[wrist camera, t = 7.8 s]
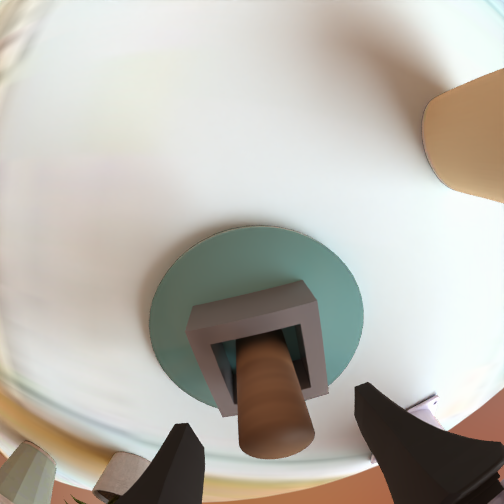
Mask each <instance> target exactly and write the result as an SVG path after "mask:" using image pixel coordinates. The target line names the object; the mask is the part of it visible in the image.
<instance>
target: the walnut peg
mask: <svg viewBox="0 0 504 504" xmlns="http://www.w3.org/2000/svg"><path fill="white" fill-rule="evenodd" d="M236 375H237V406H238V432H239V446H240V448H241V450H242V451H243V452H244V453H246V454H248V455H250V456H252V457H255V458H260V459H279V458H284V457H288V456H291V455H294V454H296V453H298V452H300V451H302V450H304V449H305V448H306V447H308V446H309V445H310V444H311V442H312V441H313V439H314V436H315V432H314V428H313V425H312V422H311V419H310V416H309V413H308V409H307V406H306V403H305V400H304V397H303V394H302V391H301V388H300V384H299V381H298V378H297V375H296V372H295V369H294V366H293V363H292V359H291V356H290V353H289V350H288V347H287V344H286V341H285V338H284V335H283V332H282V329H278V330H274V331H270V332H265V333H261V334H257V335H253V336H248V337H244V338H239V339H236Z"/></svg>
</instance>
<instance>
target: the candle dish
mask: <svg viewBox="0 0 504 504" xmlns="http://www.w3.org/2000/svg"><path fill="white" fill-rule="evenodd" d="M362 328H363V303H362V298H361V294H360V291H359V287H358V285H357V283H356V281H355V279H354V277H353V275H352V273H351V272H350V271H349V269H348V268H347V266H346V265H345V264H344V263H343V262H342V260H341V259H340V258H339V257H338V256H337V255H336V254H334V253H333V252H332V251H331V250H329V249H328V248H327V247H325V246H324V245H323V244H321V243H320V242H318V241H316V240H314V239H313V238H311V237H309V236H307V235H305V234H302V233H299V232H297V231H294V230H290V229H286V228H282V227H276V226H265V225H259V226H244V227H239V228H233V229H229V230H226V231H223V232H220V233H217V234H214V235H212V236H210V237H208V238H206V239H204V240H202V241H200V242H199V243H197V244H196V245H194V246H193V247H191V248H190V249H189V250H187V251H186V252H185V253H184V254H183V255H182V256H181V257H180V258H178V260H177V261H176V262H175V263H174V264H173V266H172V267H171V268H170V269H169V270H168V272H167V273H166V275H165V276H164V278H163V280H162V281H161V283H160V284H159V286H158V288H157V291H156V293H155V296H154V298H153V302H152V306H151V310H150V319H149V329H150V338H151V343H152V347H153V350H154V352H155V355H156V357H157V360H158V361H159V363H160V365H161V367H162V368H163V370H164V371H165V372H166V374H167V375H168V376H169V378H170V379H171V380H172V381H173V382H174V383H175V384H176V385H177V386H178V387H179V388H181V389H182V390H183V391H184V392H186V393H187V394H188V395H190V396H192V397H193V398H195V399H197V400H198V401H201V402H203V403H205V404H207V405H210V406H212V407H215V408H218V409H219V411H220V413H221V415H222V417H228V416H235V415H238V406H237V375H236V339H239V338H244V337H248V336H253V335H257V334H261V333H265V332H270V331H274V330H278V329H282V332H283V335H284V338H285V341H286V344H287V347H288V350H289V353H290V356H291V359H292V363H293V366H294V369H295V372H296V375H297V378H298V381H299V384H300V388H301V391H302V394H303V397H304V400H305V401H306V400H308V399H312V398H315V397H319V396H322V395H325V394H329V392H328V386H329V385H330V384H331V383H332V382H333V381H334V380H335V379H336V378H337V377H338V376H339V375H340V374H341V373H342V372H343V370H344V369H345V368H346V367H347V365H348V364H349V362H350V360H351V359H352V357H353V355H354V353H355V351H356V349H357V346H358V344H359V341H360V337H361V334H362Z"/></svg>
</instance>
